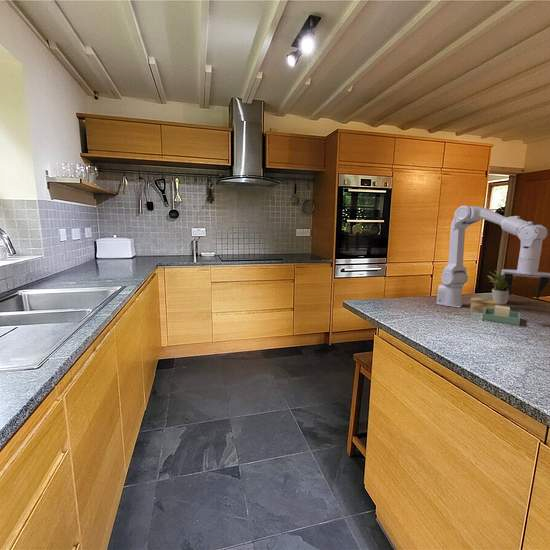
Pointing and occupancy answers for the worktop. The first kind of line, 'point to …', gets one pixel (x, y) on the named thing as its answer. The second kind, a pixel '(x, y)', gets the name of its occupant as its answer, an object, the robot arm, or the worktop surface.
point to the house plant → (500, 289)
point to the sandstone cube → (502, 311)
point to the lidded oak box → (482, 304)
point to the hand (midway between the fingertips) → (523, 296)
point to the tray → (501, 317)
